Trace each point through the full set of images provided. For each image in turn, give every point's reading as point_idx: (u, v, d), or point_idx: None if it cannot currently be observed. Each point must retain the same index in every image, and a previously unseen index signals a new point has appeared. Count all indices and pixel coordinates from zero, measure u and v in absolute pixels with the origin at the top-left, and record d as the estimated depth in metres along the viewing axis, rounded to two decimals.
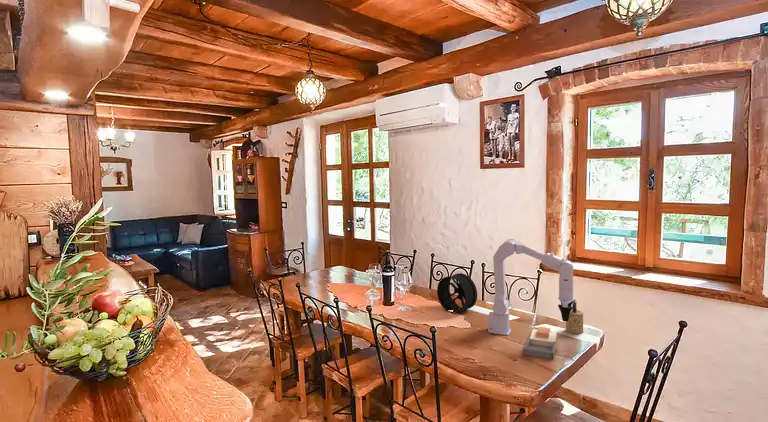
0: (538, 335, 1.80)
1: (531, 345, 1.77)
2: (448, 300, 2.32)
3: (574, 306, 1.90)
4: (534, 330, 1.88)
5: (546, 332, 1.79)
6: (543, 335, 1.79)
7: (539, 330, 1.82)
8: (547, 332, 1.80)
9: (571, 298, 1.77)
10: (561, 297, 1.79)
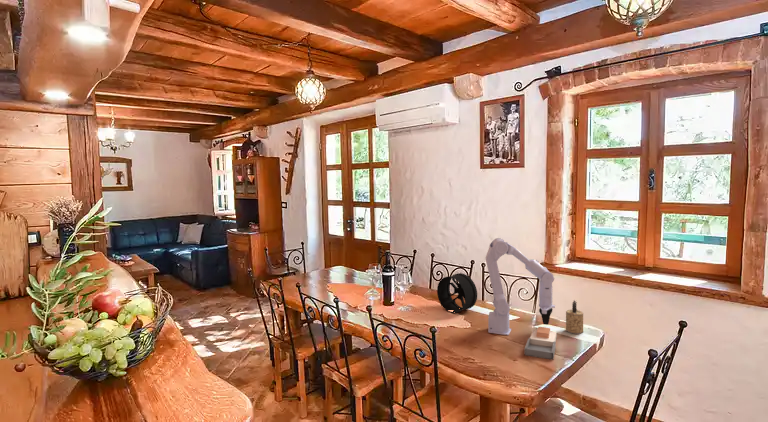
0: (538, 335, 1.80)
1: (531, 345, 1.77)
2: (448, 300, 2.32)
3: (574, 306, 1.90)
4: (534, 330, 1.88)
5: (546, 332, 1.79)
6: (543, 335, 1.79)
7: (539, 330, 1.82)
8: (547, 332, 1.80)
9: (550, 305, 1.88)
10: (541, 304, 1.89)
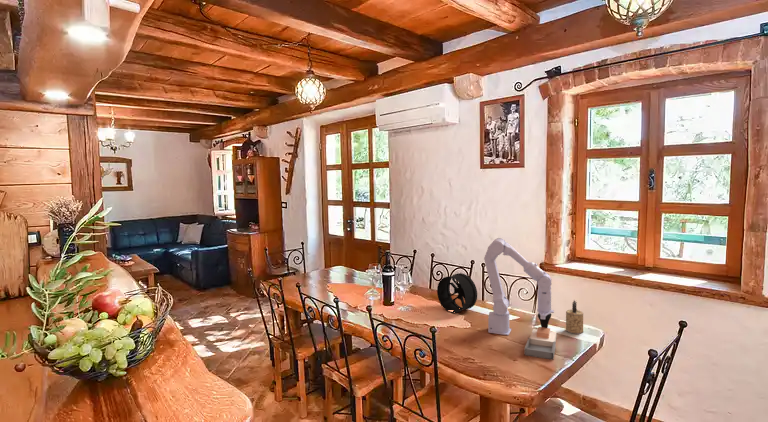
0: (538, 335, 1.80)
1: (531, 345, 1.77)
2: (448, 300, 2.32)
3: (574, 306, 1.90)
4: (534, 330, 1.88)
5: (546, 333, 1.79)
6: (543, 335, 1.79)
7: (539, 330, 1.82)
8: (547, 332, 1.80)
9: (549, 310, 1.83)
10: (540, 309, 1.84)
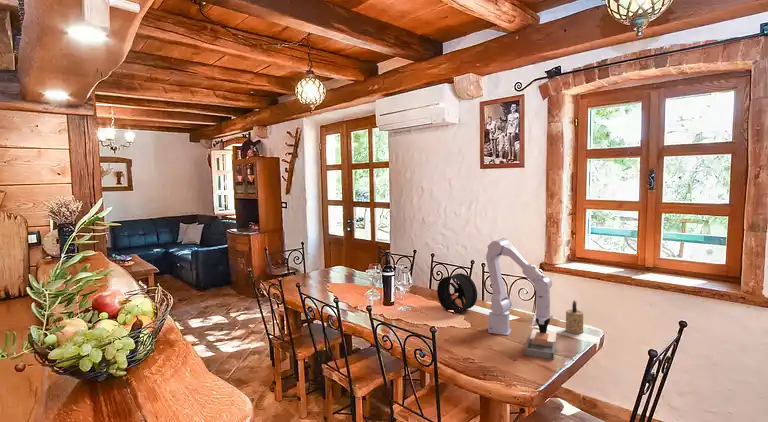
0: (536, 341, 1.74)
1: (531, 345, 1.77)
2: (448, 300, 2.32)
3: (574, 306, 1.90)
4: (534, 330, 1.88)
5: (544, 338, 1.73)
6: (541, 341, 1.73)
7: (537, 336, 1.76)
8: (545, 338, 1.74)
9: (548, 315, 1.77)
10: (538, 314, 1.79)
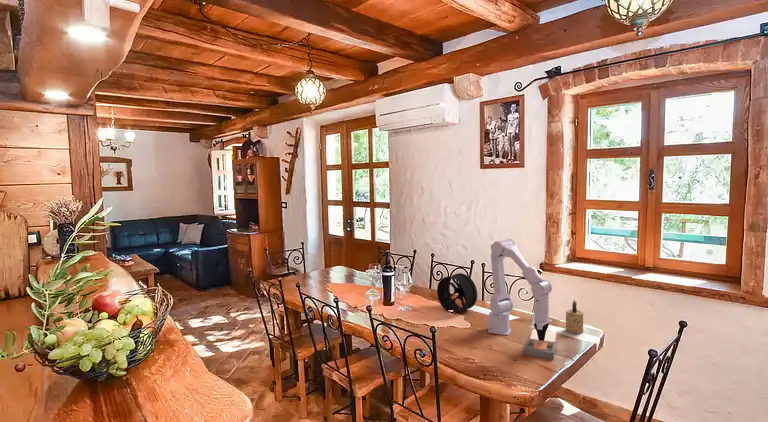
0: None
1: (531, 345, 1.77)
2: (448, 300, 2.32)
3: (574, 306, 1.90)
4: (534, 330, 1.88)
5: (543, 348, 1.69)
6: None
7: (535, 346, 1.72)
8: (544, 348, 1.69)
9: (546, 320, 1.72)
10: (536, 318, 1.73)
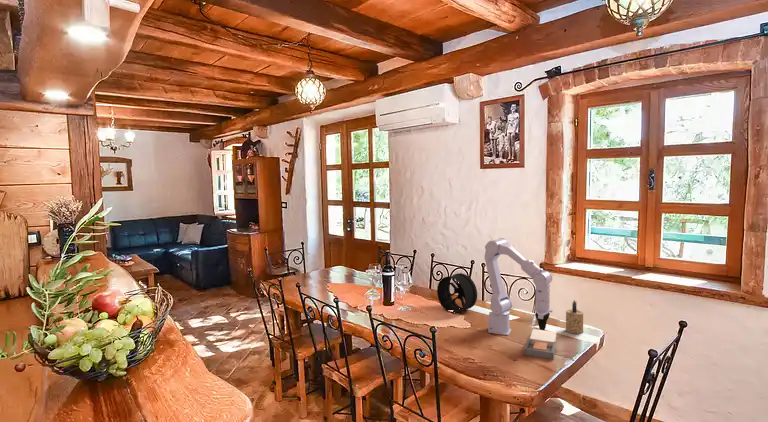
0: None
1: (531, 345, 1.77)
2: (448, 300, 2.32)
3: (574, 306, 1.90)
4: (534, 330, 1.88)
5: (543, 348, 1.69)
6: None
7: (535, 346, 1.72)
8: (544, 348, 1.69)
9: (547, 309, 1.76)
10: (537, 308, 1.77)
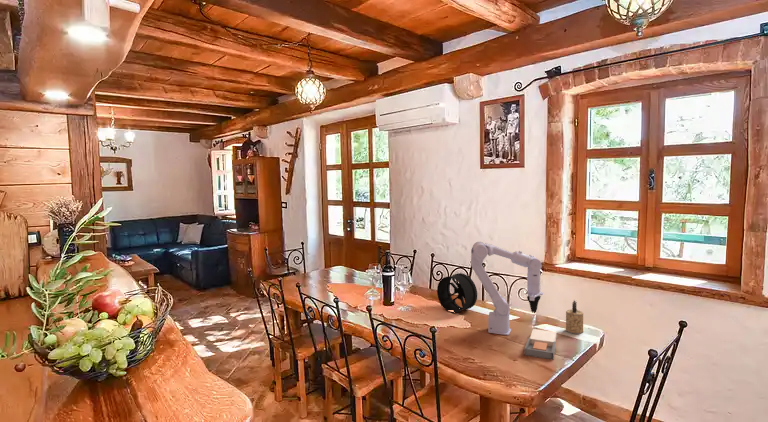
0: None
1: (531, 345, 1.77)
2: (448, 300, 2.32)
3: (574, 306, 1.90)
4: (534, 330, 1.88)
5: (543, 348, 1.69)
6: None
7: (535, 346, 1.72)
8: (544, 348, 1.69)
9: (538, 292, 1.88)
10: (529, 291, 1.89)
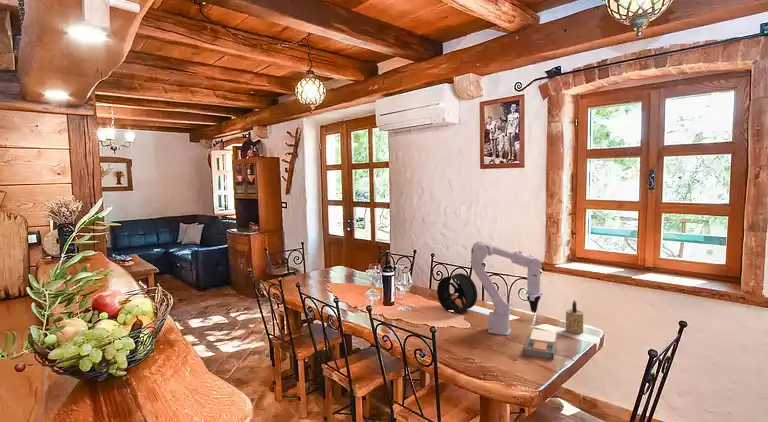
0: None
1: (531, 345, 1.77)
2: (448, 300, 2.32)
3: (574, 306, 1.90)
4: (534, 330, 1.88)
5: (543, 348, 1.69)
6: None
7: (535, 346, 1.72)
8: (544, 348, 1.69)
9: (538, 292, 1.88)
10: (529, 291, 1.89)
